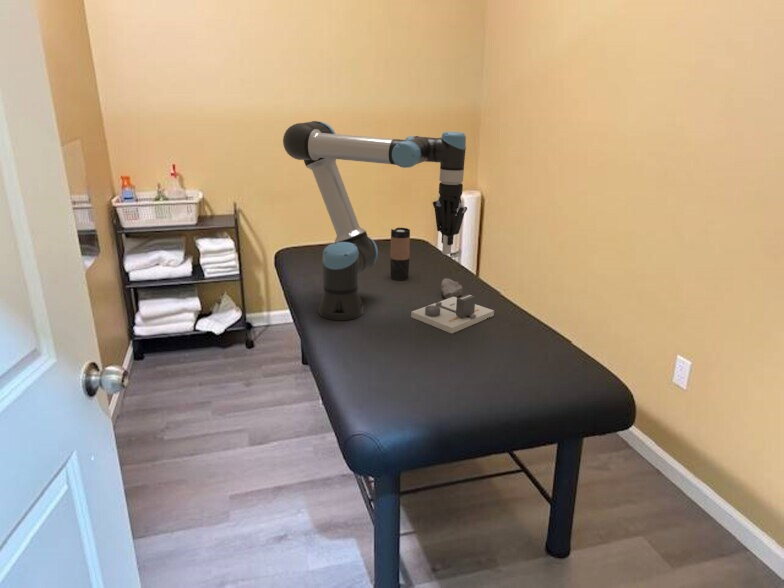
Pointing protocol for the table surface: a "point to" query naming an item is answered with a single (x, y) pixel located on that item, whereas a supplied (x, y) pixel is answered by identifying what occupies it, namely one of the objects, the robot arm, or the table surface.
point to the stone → (450, 288)
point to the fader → (465, 305)
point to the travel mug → (400, 253)
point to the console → (450, 315)
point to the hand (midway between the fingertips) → (446, 253)
